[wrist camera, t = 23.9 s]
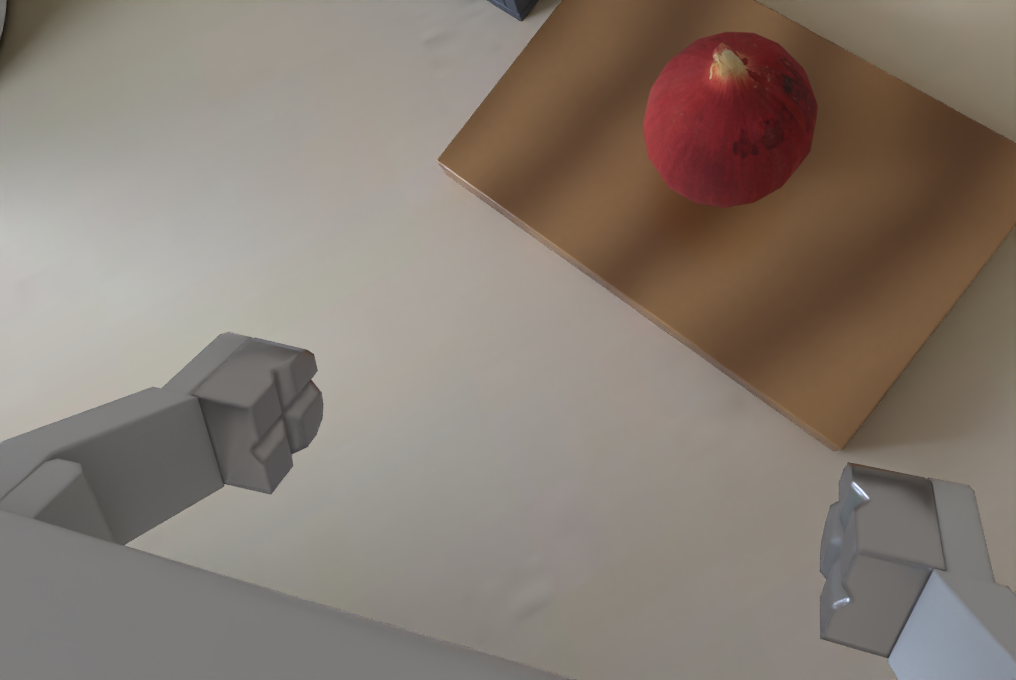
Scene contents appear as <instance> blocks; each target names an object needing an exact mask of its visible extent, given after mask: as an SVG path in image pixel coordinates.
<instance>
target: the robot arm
mask: <svg viewBox="0 0 1016 680" xmlns="http://www.w3.org/2000/svg"><path fill="white" fill-rule="evenodd" d="M6 4H7V0H0V38H1V34H2V30H3V26H4V21H5V15H6ZM317 371H318V370H317V366H316V361H315V357H314V354H313V353H311V352H310V351H308V350H306V349H302V348H297V347H293V346H289V345H285V344H280V343H276V342H272V341H268V340H263V339H259V338H252V337H248V336H244V335H239V334H235V333H231V332H228V333H224V334H220V335H219V336H218V337H217V338H215V339H214V340H213V341H212V342H211V343H210V344H209V345H208V346H207V347H206V348H205V349H204V350H202V351H201V352H200V353H199V354H198V355H197V356H196V357H195V358H194V359H193V360H192V361H191V362H189V363H188V364H187V365H186V366H185V367H184V368H183V369H182V370H181V371H180V372H179V373H178V374H176V375H175V376H174V377H173V378H172V379H171V380H170V381H169V382H168V383H167V384H166V385H165V386H163V387H162V388H157V387H151V388H148V389H146V390H143V391H140V392H137V393H135V394H132V395H129V396H126V397H123V398H121V399H118V400H115V401H112V402H110V403H107V404H104V405H101V406H99V407H96V408H93V409H90V410H88V411H85V412H82V413H79V414H77V415H74V416H71V417H68V418H65V419H63V420H60V421H57V422H54V423H52V424H49V425H46V426H43V427H41V428H38V429H35V430H32V431H30V432H27V433H24V434H21V435H19V436H16V437H13V438H10V439H8V440H5V441H3V442H2V443H1V444H0V680H576V679H572V678H569V677H566V676H562V675H559V674H555V673H552V672H549V671H545V670H542V669H538V668H535V667H532V666H528V665H525V664H522V663H518V662H515V661H511V660H508V659H505V658H501V657H498V656H495V655H491V654H488V653H484V652H481V651H478V650H474V649H471V648H468V647H464V646H461V645H457V644H454V643H451V642H447V641H444V640H441V639H437V638H434V637H431V636H427V635H424V634H420V633H417V632H414V631H410V630H407V629H404V628H400V627H397V626H393V625H390V624H387V623H383V622H380V621H377V620H373V619H370V618H367V617H363V616H360V615H356V614H353V613H350V612H346V611H343V610H340V609H336V608H333V607H329V606H326V605H323V604H319V603H316V602H313V601H309V600H306V599H302V598H299V597H296V596H292V595H289V594H286V593H282V592H279V591H275V590H272V589H269V588H265V587H262V586H259V585H255V584H252V583H248V582H245V581H242V580H238V579H235V578H232V577H228V576H225V575H221V574H218V573H215V572H211V571H208V570H205V569H201V568H198V567H194V566H191V565H188V564H184V563H181V562H178V561H174V560H171V559H167V558H164V557H161V556H157V555H154V554H151V553H147V552H144V551H140V550H137V549H134V548H130V547H127V546H124V545H125V544H127V543H128V542H130V541H132V540H134V539H135V538H137V537H139V536H140V535H142V534H144V533H145V532H147V531H149V530H151V529H152V528H154V527H156V526H157V525H159V524H161V523H163V522H164V521H166V520H168V519H169V518H171V517H173V516H174V515H176V514H178V513H180V512H181V511H183V510H185V509H186V508H188V507H190V506H192V505H193V504H195V503H197V502H198V501H200V500H202V499H204V498H205V497H207V496H209V495H210V494H212V493H214V492H215V491H217V490H219V489H221V488H222V487H224V484H227V485H232V486H236V487H240V488H245V489H249V490H253V491H258V492H262V493H266V494H272V493H273V491H274V490H275V489H276V488H277V486H278V485H279V484H280V482H281V481H282V480H283V478H284V477H285V476H286V475H287V473H288V472H289V471H290V469H291V468H292V467H293V460H292V454H294V453H296V452H298V451H300V450H302V449H304V448H306V447H308V446H309V444H310V443H311V441H312V440H313V439H314V437H315V436H316V435H317V432H318V429H319V426H320V423H321V421H322V417H323V399H322V392H321V391H320V390H319V389H318V387H317V386H316V385H315V384H314V383H313V381H312V380H311V379H312V378H313V376H314V375H315V374H316V372H317ZM820 572H821V573H822V575H823V576H824V577H825V579H826V582H825V585H824V587H823V590H822V593H821V596H820V639H823V640H826V641H830V642H833V643H837V644H840V645H844V646H847V647H851V648H854V649H858V650H861V651H865V652H868V653H871V654H875V655H878V656H882V657H885V658H889V659H888V661H887V662H888V663H889V665H890V667H891V668H892V670H893V671H894V673H895V675H896V676H897V678H898V680H1016V594H1015V593H1014V592H1013V591H1012V590H1011V589H1010V588H1009V587H1008V586H1005V585H1000V584H996V583H995V579H994V575H993V571H992V566H991V562H990V557H989V553H988V549H987V544H986V540H985V536H984V531H983V527H982V522H981V518H980V514H979V509H978V505H977V501H976V496H975V492H974V490H973V489H972V488H971V487H970V486H969V485H965V484H960V483H954V482H949V481H944V480H939V479H933V478H927V479H926V478H924V477H920V476H915V475H910V474H905V473H900V472H895V471H890V470H885V469H880V468H875V467H870V466H865V465H860V464H855V463H850V462H848V463H847V465H846V466H845V468H844V469H843V472H842V475H841V478H840V480H839V501H837V502H836V503H834V504H832V505H830V508H829V512H828V515H827V518H826V521H825V525H824V530H823V535H822V539H821V549H820Z"/></svg>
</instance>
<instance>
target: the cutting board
mask: <svg viewBox="0 0 1016 680" xmlns="http://www.w3.org/2000/svg"><path fill="white" fill-rule="evenodd" d="M723 32H749V33H756V34H758V35H760V36H763V37H765V38H767V39H770V40H772V41H774V42H777V43H779V44H780V45H781V46H782V47H783V48H784V49H785V50H786V51H787V52H788V53H789V54H790V55H791V56H792V57H793V58H794V59H795V60H796V61H797V62H798V63H799V64H800V65H801V66H802V67H803V68H804V70H805V72H806V74H807V76H808V79H809V82H810V84H811V87H812V90H813V93H814V96H815V99H816V102H817V105H818V109H817V119H816V125H815V130H814V135H813V140H812V145H811V150H810V152H809V154H808V155H807V156H806V158H805V159H804V161H803V162H802V163H801V164H800V165H799V167H798V168H797V169H796V170H795V172H794V173H793V174H792V175H791V176H790V178H789V179H788V180H787V181H786V183H785V184H784V185H783V186H782V187H781V188H779V189H778V190H776V191H774V192H772V193H770V194H769V195H767V196H765V197H763V198H761V199H760V200H758V201H756V202H754V203H750V204H744V205H738V206H732V207H726V208H721V207H715V206H709V205H703V204H697V203H694V202H692V201H690V200H689V199H687V198H685V197H684V196H682V195H680V194H679V193H677V192H675V191H674V190H672V189H670V188H669V187H668V186H667V184H666V183H665V181H664V180H663V178H662V177H661V175H660V174H659V172H658V171H657V170H656V168H655V167H654V165H653V164H652V162H651V161H650V159H649V158H648V154H647V149H646V143H645V138H644V132H643V127H642V126H643V121H644V117H645V112H646V107H647V102H648V98H649V94H650V90H651V87H652V86H653V84H654V83H655V81H656V80H657V78H658V77H659V75H660V73H661V72H662V70H663V69H664V67H665V66H666V64H667V63H668V62H669V61H670V60H671V59H672V58H673V57H674V56H675V55H677V54H678V53H679V52H681V51H682V50H683V49H685V48H686V47H687V46H689V45H690V44H691V43H692V42H694V41H695V40H697V39H700V38H704V37H708V36H712V35H715V34H719V33H723ZM437 163H438V164H439V165H440V166H441V168H442V169H443V170H444V172H445V173H446V174H447V175H448V176H449V177H451V178H452V179H454V180H455V181H456V182H458V183H459V184H461V185H462V186H463V187H465V188H466V189H468V190H469V191H470V192H472V193H473V194H475V195H476V196H477V197H479V198H480V199H482V200H483V201H484V202H486V203H487V204H489V205H490V206H491V207H493V208H494V209H496V210H497V211H498V212H500V213H501V214H503V215H504V216H505V217H507V218H508V219H510V220H511V221H512V222H514V223H515V224H516V225H518V226H519V227H521V228H522V229H523V230H525V231H526V232H528V233H529V234H530V235H532V236H533V237H535V238H536V239H537V240H539V241H540V242H542V243H543V244H544V245H546V246H547V247H549V248H550V249H551V250H553V251H554V252H556V253H557V254H558V255H560V256H561V257H563V258H564V259H565V260H567V261H568V262H570V263H571V264H572V265H574V266H575V267H577V268H578V269H579V270H581V271H582V272H584V273H585V274H586V275H588V276H589V277H591V278H592V279H593V280H595V281H596V282H598V283H599V284H600V285H602V286H603V287H605V288H606V289H607V290H609V291H610V292H612V293H613V294H614V295H616V296H617V297H619V298H620V299H621V300H623V301H624V302H626V303H627V304H628V305H630V306H631V307H632V308H634V309H635V310H637V311H638V312H639V313H641V314H642V315H644V316H645V317H646V318H648V319H649V320H651V321H652V322H653V323H655V324H656V325H658V326H659V327H660V328H662V329H663V330H665V331H666V332H667V333H669V334H670V335H672V336H673V337H674V338H676V339H677V340H679V341H680V342H681V343H683V344H684V345H686V346H687V347H688V348H690V349H691V350H693V351H694V352H695V353H697V354H698V355H700V356H701V357H702V358H704V359H705V360H707V361H708V362H709V363H711V364H712V365H714V366H715V367H716V368H718V369H719V370H721V371H722V372H723V373H725V374H726V375H728V376H729V377H730V378H732V379H733V380H735V381H736V382H737V383H739V384H740V385H741V386H743V387H744V388H746V389H747V390H748V391H750V392H751V393H753V394H754V395H755V396H757V397H758V398H760V399H761V400H762V401H764V402H765V403H767V404H768V405H769V406H771V407H772V408H774V409H775V410H776V411H778V412H779V413H781V414H782V415H783V416H785V417H786V418H788V419H789V420H790V421H792V422H793V423H795V424H796V425H797V426H799V427H800V428H802V429H803V430H804V431H806V432H807V433H809V434H810V435H811V436H813V437H814V438H816V439H817V440H818V441H820V442H821V443H823V444H824V445H825V446H827V447H828V448H830V449H831V450H832V451H839V450H843V449H844V448H845V446H846V445H847V444H848V442H849V441H850V440H851V438H852V437H853V436H854V435H855V433H856V432H857V431H858V429H859V428H860V427H861V425H862V424H863V423H864V422H865V420H866V419H867V418H868V416H869V415H870V414H871V412H872V411H873V410H874V409H875V407H876V406H877V405H878V403H879V402H880V401H881V400H882V398H883V397H884V396H885V394H886V393H887V392H888V390H889V389H890V388H891V387H892V385H893V384H894V383H895V381H896V380H897V379H898V377H899V376H900V375H901V374H902V372H903V371H904V370H905V368H906V367H907V366H908V365H909V363H910V362H911V361H912V359H913V358H914V357H915V355H916V354H917V353H918V352H919V350H920V349H921V348H922V346H923V345H924V344H925V342H926V341H927V340H928V339H929V337H930V336H931V335H932V333H933V332H934V331H935V329H936V328H937V327H938V326H939V324H940V323H941V322H942V320H943V319H944V318H945V317H946V315H947V314H948V313H949V311H950V310H951V309H952V307H953V306H954V305H955V304H956V302H957V301H958V300H959V298H960V297H961V296H962V294H963V293H964V292H965V291H966V289H967V288H968V287H969V285H970V284H971V283H972V282H973V280H974V279H975V278H976V276H977V275H978V274H979V272H980V271H981V270H982V269H983V267H984V266H985V265H986V263H987V262H988V261H989V259H990V258H991V257H992V256H993V254H994V253H995V252H996V250H997V249H998V248H999V246H1000V245H1001V244H1002V243H1003V241H1004V240H1005V239H1006V237H1007V236H1008V235H1009V234H1010V232H1011V231H1012V230H1013V228H1014V227H1015V226H1016V143H1015V142H1013V141H1011V140H1009V139H1007V138H1005V137H1004V136H1002V135H1000V134H998V133H996V132H995V131H993V130H991V129H989V128H987V127H985V126H984V125H982V124H980V123H978V122H976V121H974V120H973V119H971V118H969V117H967V116H965V115H963V114H962V113H960V112H958V111H956V110H954V109H953V108H951V107H949V106H947V105H945V104H943V103H942V102H940V101H938V100H936V99H934V98H932V97H931V96H929V95H927V94H925V93H923V92H921V91H920V90H918V89H916V88H914V87H912V86H911V85H909V84H907V83H905V82H903V81H901V80H900V79H898V78H896V77H894V76H892V75H890V74H889V73H887V72H885V71H883V70H881V69H879V68H878V67H876V66H874V65H872V64H870V63H869V62H867V61H865V60H863V59H861V58H859V57H858V56H856V55H854V54H852V53H850V52H848V51H847V50H845V49H843V48H841V47H839V46H837V45H836V44H834V43H832V42H830V41H828V40H827V39H825V38H823V37H821V36H819V35H817V34H816V33H814V32H812V31H810V30H808V29H806V28H805V27H803V26H801V25H799V24H797V23H795V22H794V21H792V20H790V19H788V18H786V17H785V16H783V15H781V14H779V13H777V12H775V11H774V10H772V9H770V8H768V7H766V6H764V5H763V4H761V3H759V2H757V1H755V0H562V1H561V2H560V4H559V5H558V6H557V7H556V9H555V10H554V11H553V13H552V14H551V15H550V16H549V18H548V19H547V20H546V22H545V23H544V24H543V25H542V27H541V28H540V29H539V30H538V32H537V33H536V34H535V36H534V37H533V38H532V39H531V41H530V42H529V43H528V45H527V46H526V47H525V48H524V50H523V51H522V52H521V53H520V55H519V56H518V57H517V59H516V60H515V61H514V62H513V64H512V65H511V66H510V68H509V69H508V70H507V71H506V73H505V74H504V75H503V76H502V78H501V79H500V80H499V82H498V83H497V84H496V85H495V87H494V88H493V89H492V91H491V92H490V93H489V94H488V96H487V97H486V98H485V99H484V101H483V102H482V103H481V105H480V106H479V107H478V108H477V110H476V111H475V112H474V114H473V115H472V116H471V117H470V119H469V120H468V121H467V122H466V124H465V125H464V126H463V128H462V129H461V130H460V131H459V133H458V134H457V135H456V137H455V138H454V139H453V140H452V142H451V143H450V144H449V146H448V147H447V148H446V149H445V151H444V152H443V153H442V154H441V156H440V157H439V158H438V160H437Z"/></svg>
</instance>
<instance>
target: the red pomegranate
mask: <svg viewBox="0 0 1016 680" xmlns="http://www.w3.org/2000/svg"><path fill="white" fill-rule="evenodd" d="M817 109H818V105H817V102H816V99H815V96H814V93H813V90H812V87H811V84H810V82H809V79H808V76H807V74H806V72H805V70H804V68H803V67H802V66H801V65H800V64H799V63H798V62H797V61H796V60H795V59H794V58H793V57H792V56H791V55H790V54H789V53H788V52H787V51H786V50H785V49H784V48H783V47H782V46H781V45H780V44H779V43H777V42H774V41H772V40H770V39H767V38H765V37H763V36H760V35H758V34H756V33H749V32H723V33H719V34H715V35H712V36H708V37H704V38H700V39H697V40H695V41H694V42H692V43H691V44H690V45H689V46H687V47H686V48H685V49H683V50H682V51H681V52H679V53H678V54H677V55H675V56H674V57H673V58H672V59H671V60H670V61H669V62H668V63H667V64H666V66H665V67H664V69H663V70H662V72H661V73H660V75H659V77H658V78H657V80H656V81H655V83H654V84H653V86H652V87H651V90H650V94H649V98H648V102H647V107H646V112H645V117H644V121H643V126H642V127H643V132H644V138H645V143H646V149H647V154H648V158H649V159H650V161H651V162H652V164H653V165H654V167H655V168H656V170H657V171H658V172H659V174H660V175H661V177H662V178H663V180H664V181H665V183H666V184H667V186H668V187H669V188H670V189H672V190H674V191H675V192H677V193H679V194H680V195H682V196H684V197H685V198H687V199H689V200H690V201H692V202H694V203H697V204H703V205H709V206H715V207H721V208H726V207H732V206H738V205H744V204H750V203H754V202H756V201H758V200H760V199H761V198H763V197H765V196H767V195H769V194H770V193H772V192H774V191H776V190H778V189H779V188H781V187H782V186H783V185H784V184H785V183H786V181H787V180H788V179H789V178H790V176H791V175H792V174H793V173H794V172H795V170H796V169H797V168H798V167H799V165H800V164H801V163H802V162H803V161H804V159H805V158H806V156H807V155H808V154H809V152H810V150H811V145H812V140H813V135H814V130H815V125H816V119H817Z"/></svg>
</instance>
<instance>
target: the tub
mask: <svg viewBox="0 0 1016 680" xmlns="http://www.w3.org/2000/svg"><path fill="white" fill-rule="evenodd" d="M487 1H489V2H491V3H492V4H494V5H496V6H497V7H499V8H500V9H502V10H504V11H505V12H507V13H508V14H510V15H512V16H513V17H515V18H517V19H518V20H520V21H523V19H524V18H525V17H526V15H527V14H528V13H529V12H530V10H531V9H532V8H533V7H534V5H535V4H536V3H537V1H538V0H487Z"/></svg>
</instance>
